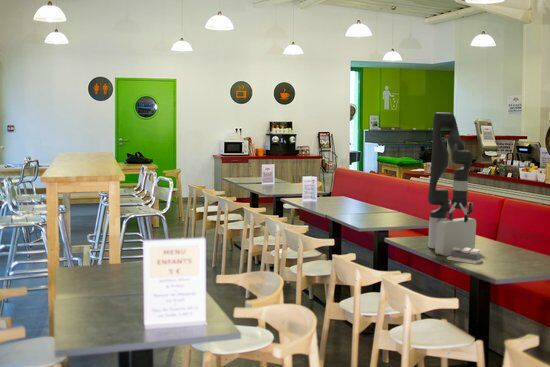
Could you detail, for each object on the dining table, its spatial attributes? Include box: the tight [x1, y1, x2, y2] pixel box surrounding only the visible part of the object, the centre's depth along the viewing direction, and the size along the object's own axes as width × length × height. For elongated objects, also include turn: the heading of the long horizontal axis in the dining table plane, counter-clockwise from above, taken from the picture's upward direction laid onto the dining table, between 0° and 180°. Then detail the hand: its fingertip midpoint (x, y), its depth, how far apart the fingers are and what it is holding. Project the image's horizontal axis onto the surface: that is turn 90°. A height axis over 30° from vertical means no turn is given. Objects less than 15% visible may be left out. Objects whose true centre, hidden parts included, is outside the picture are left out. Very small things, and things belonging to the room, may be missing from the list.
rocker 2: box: [470, 248, 481, 254], centre depth 343 cm, size 5×3×1 cm, turn 142°
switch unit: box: [446, 250, 484, 265], centre depth 345 cm, size 10×15×4 cm, turn 52°
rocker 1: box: [462, 247, 471, 253], centre depth 346 cm, size 5×3×1 cm, turn 142°
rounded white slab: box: [434, 217, 477, 257], centre depth 364 cm, size 29×8×18 cm, turn 129°
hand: (458, 221), depth 346 cm, fingers open, 7 cm apart
